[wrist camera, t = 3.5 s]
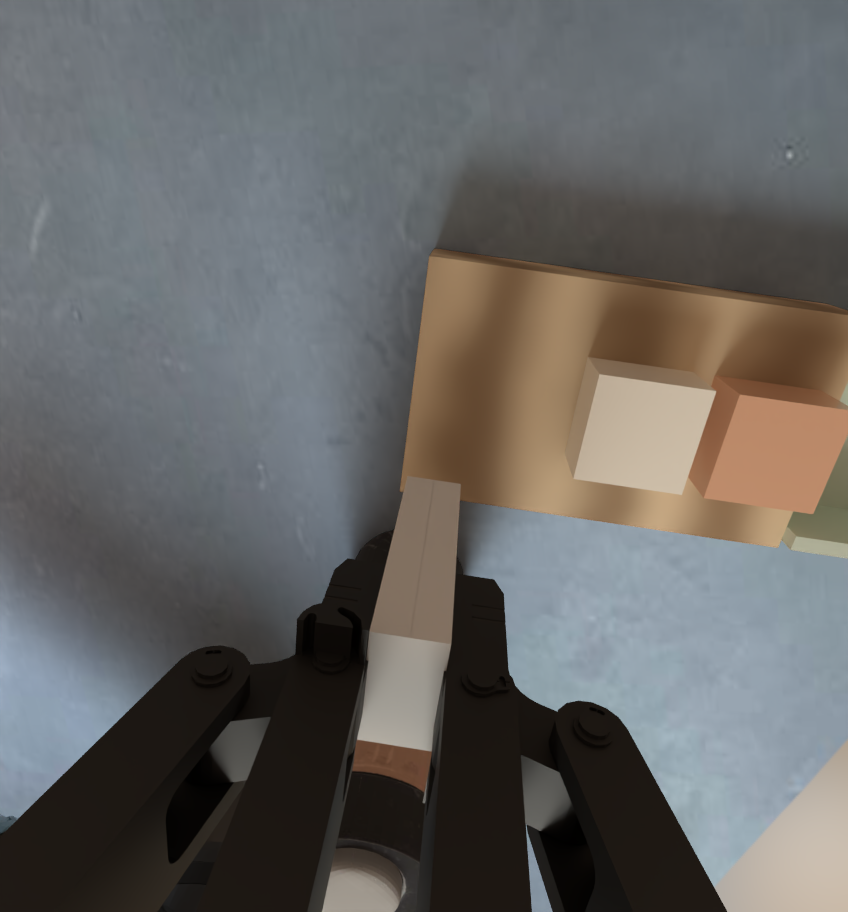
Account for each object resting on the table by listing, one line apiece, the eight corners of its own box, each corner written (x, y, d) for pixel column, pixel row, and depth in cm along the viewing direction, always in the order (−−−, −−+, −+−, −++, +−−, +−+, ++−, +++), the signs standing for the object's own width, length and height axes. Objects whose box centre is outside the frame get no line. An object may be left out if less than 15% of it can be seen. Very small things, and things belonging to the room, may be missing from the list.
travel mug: (488, 600, 40) (500, 951, 21) (385, 639, 42) (315, 992, 23) (433, 505, 37) (395, 809, 19) (327, 551, 39) (197, 868, 21)
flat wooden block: (407, 461, 36) (399, 491, 33) (434, 248, 31) (429, 256, 28) (747, 511, 36) (777, 547, 32) (827, 303, 31) (874, 319, 27)
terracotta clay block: (683, 470, 31) (703, 498, 28) (714, 375, 29) (739, 394, 26) (782, 485, 31) (813, 514, 28) (821, 390, 29) (857, 411, 26)
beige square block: (564, 453, 31) (573, 478, 28) (587, 356, 29) (599, 374, 26) (663, 467, 31) (682, 494, 28) (693, 372, 29) (716, 391, 26)
